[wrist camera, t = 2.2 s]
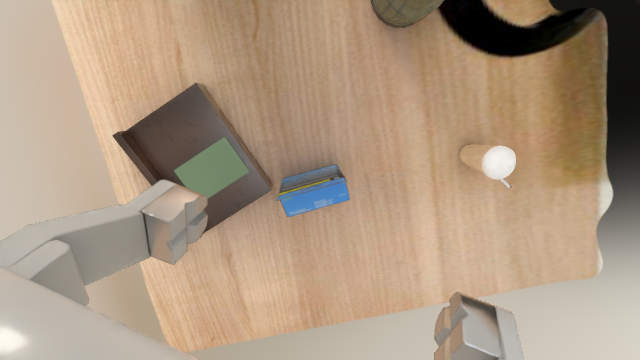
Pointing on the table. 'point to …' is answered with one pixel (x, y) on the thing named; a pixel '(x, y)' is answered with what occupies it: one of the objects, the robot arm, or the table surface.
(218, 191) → the desk shelf
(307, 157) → the table surface
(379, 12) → the thermos
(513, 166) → the milkshake
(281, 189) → the blue cardboard box
